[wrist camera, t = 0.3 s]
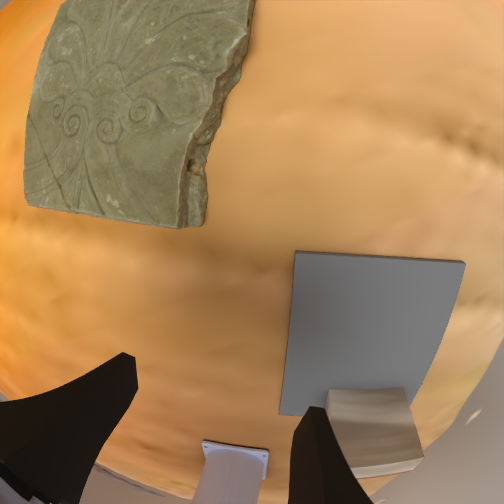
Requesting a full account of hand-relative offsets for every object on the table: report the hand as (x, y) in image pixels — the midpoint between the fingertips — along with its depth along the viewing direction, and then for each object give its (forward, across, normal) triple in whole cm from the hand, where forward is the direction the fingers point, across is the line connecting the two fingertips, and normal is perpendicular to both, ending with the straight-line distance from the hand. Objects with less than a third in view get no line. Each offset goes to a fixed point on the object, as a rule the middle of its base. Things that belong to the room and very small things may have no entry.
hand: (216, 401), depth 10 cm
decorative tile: (+11, +12, -13) cm, 21 cm away
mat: (+10, -10, +3) cm, 14 cm away
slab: (+10, -12, +8) cm, 17 cm away
